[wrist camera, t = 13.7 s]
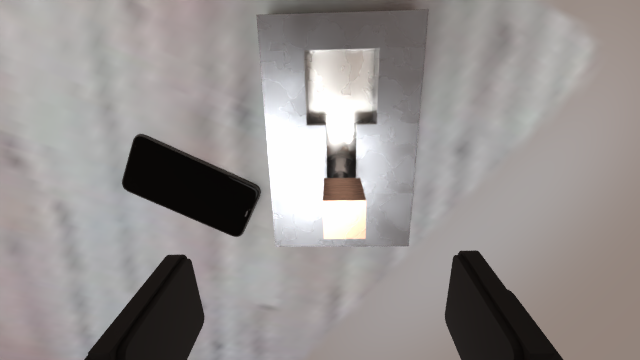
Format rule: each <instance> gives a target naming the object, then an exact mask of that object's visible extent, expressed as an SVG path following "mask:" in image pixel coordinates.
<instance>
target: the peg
mask: <svg viewBox="0 0 640 360" xmlns="http://www.w3.org/2000/svg"><path fill="white" fill-rule="evenodd" d="M323 227H324V239H365V235H366V197H365V194H364V190H363V186H362V182H361V179H360V178H355V159H354V158H352V157H351V156H349V155H346V154H336V155H333V156H330V157H329V158H327V178H324V188H323Z"/></svg>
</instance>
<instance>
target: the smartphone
mask: <svg viewBox="0 0 640 360" xmlns="http://www.w3.org/2000/svg"><path fill="white" fill-rule="evenodd" d="M122 185H123V187H124V189H125V190H127V191H129V192H131V193H133V194H135V195H138V196H140V197H142V198H145V199H147V200H149V201H152V202H154V203H156V204H159V205H161V206H163V207H166V208H168V209H170V210H173V211H175V212H177V213H180V214H182V215H184V216H187V217H189V218H191V219H194V220H196V221H198V222H201V223H203V224H205V225H208V226H210V227H212V228H215V229H217V230H219V231H222V232H224V233H226V234H229V235H231V236H234V237H238V236H241V235H242V234H243V232H244V230H245V228H246V226H247V224H248V221H249V219H250V217H251V215H252V213H253V210H254V208H255V206H256V204H257V201H258V199H259V197H260V188H259V187H258V186H257V185H255V184H253V183H251V182H249V181H246V180H244V179H242V178H240V177H238V176H236V175H234V174H231V173H229V172H227V171H225V170H222V169H220V168H218V167H215V166H213V165H211V164H209V163H206V162H204V161H202V160H200V159H198V158H195V157H193V156H191V155H189V154H186V153H184V152H182V151H180V150H178V149H175V148H173V147H171V146H169V145H166V144H164V143H162V142H160V141H157V140H155V139H153V138H151V137H149V136H146V135H143V134H140V135H137V136H136V137H135V138H134V140H133V143H132V147H131V150H130V154H129V157H128V161H127V165H126V169H125V172H124V176H123V180H122Z"/></svg>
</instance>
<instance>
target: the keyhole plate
mask: <svg viewBox="0 0 640 360" xmlns="http://www.w3.org/2000/svg"><path fill="white" fill-rule="evenodd" d="M427 21H428V10H395V11H363V12H330V13H298V14H265V15H257V26H258V39H259V51H260V63H261V76H262V88H263V100H264V112H265V125H266V137H267V149H268V161H269V174H270V186H271V198H272V210H273V223H274V235H275V246H409V234H410V222H411V210H412V198H413V187H414V175H415V163H416V151H417V139H418V128H419V116H420V104H421V92H422V80H423V68H424V57H425V45H426V33H427ZM336 154H346V155H349V156H351V157H352V158H354V159H355V178H360V179H361V182H362V186H363V190H364V194H365V197H366V235H365V239H324V227H323V188H324V178H327V158H329V157H330V156H333V155H336Z"/></svg>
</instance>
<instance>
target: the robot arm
mask: <svg viewBox="0 0 640 360" xmlns="http://www.w3.org/2000/svg"><path fill="white" fill-rule="evenodd" d="M445 320H446V324H447V327H448V329H449V332H450V334H451V336H452V339H453V341H454V344H455V346H456V348H457V351H458V353H459V355H460V358H461V360H563V359H562V357H561V356H560V355H559V353H558V352H557V351H556V349H555V348H554V347H553V345H552V344H551V343H550V341H549V340H548V339H547V337H546V336H545V335H544V333H543V332H542V331H541V329H540V328H539V327H538V326H537V324H536V323H535V321H534V320H533V319H532V318H531V316H530V315H529V313H528V312H527V311H526V310H525V308H524V307H523V306H522V304H521V303H520V302H519V300H518V299H517V298H516V296H515V295H514V294H513V293H512V292H511V291H509V290H507V289H506V288H505V286H504V285H503V283H502V282H501V281H500V280H499V278H498V277H497V275H496V274H495V273H494V271H493V270H492V269H491V267H490V266H489V265H488V263H487V262H486V261H485V259H484V258H483V256H482V255H481V254H480V253H479V252H478V251H460V252H459V253H458V255H455V256H454V257H453V262H452V269H451V276H450V283H449V290H448V297H447V304H446V311H445ZM203 323H204V312H203V308H202V304H201V299H200V295H199V291H198V287H197V282H196V278H195V274H194V270H193V265H192V262H191V260H190V259H187V257H186V256H185V255H167V256H166V257H165V258H164V260H163V261H162V262H161V263H160V264H159V266H158V267H157V268H156V269H155V271H154V272H153V273H152V274H151V276H150V277H149V278H148V279H147V281H146V282H145V283H144V284H143V286H142V287H141V288H140V289H139V290H138V292H137V293H136V294H135V295H134V297H133V298H132V299H131V300H130V302H129V303H128V304H127V305H126V307H125V308H124V309H123V310H122V312H121V313H120V314H119V315H118V316H117V318H116V319H115V320H114V321H113V323H112V324H111V325H110V326H109V328H108V329H107V330H106V331H105V333H104V334H103V335H102V336H101V338H100V339H99V340H98V341H97V342H96V344H95V345H94V346H93V347H92V349H91V350H90V351H89V352H88V356H87V357H86V358H85V359H84V360H187V358H188V356H189V354H190V352H191V350H192V348H193V345H194V343H195V341H196V339H197V337H198V335H199V333H200V331H201V328H202V326H203Z"/></svg>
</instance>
